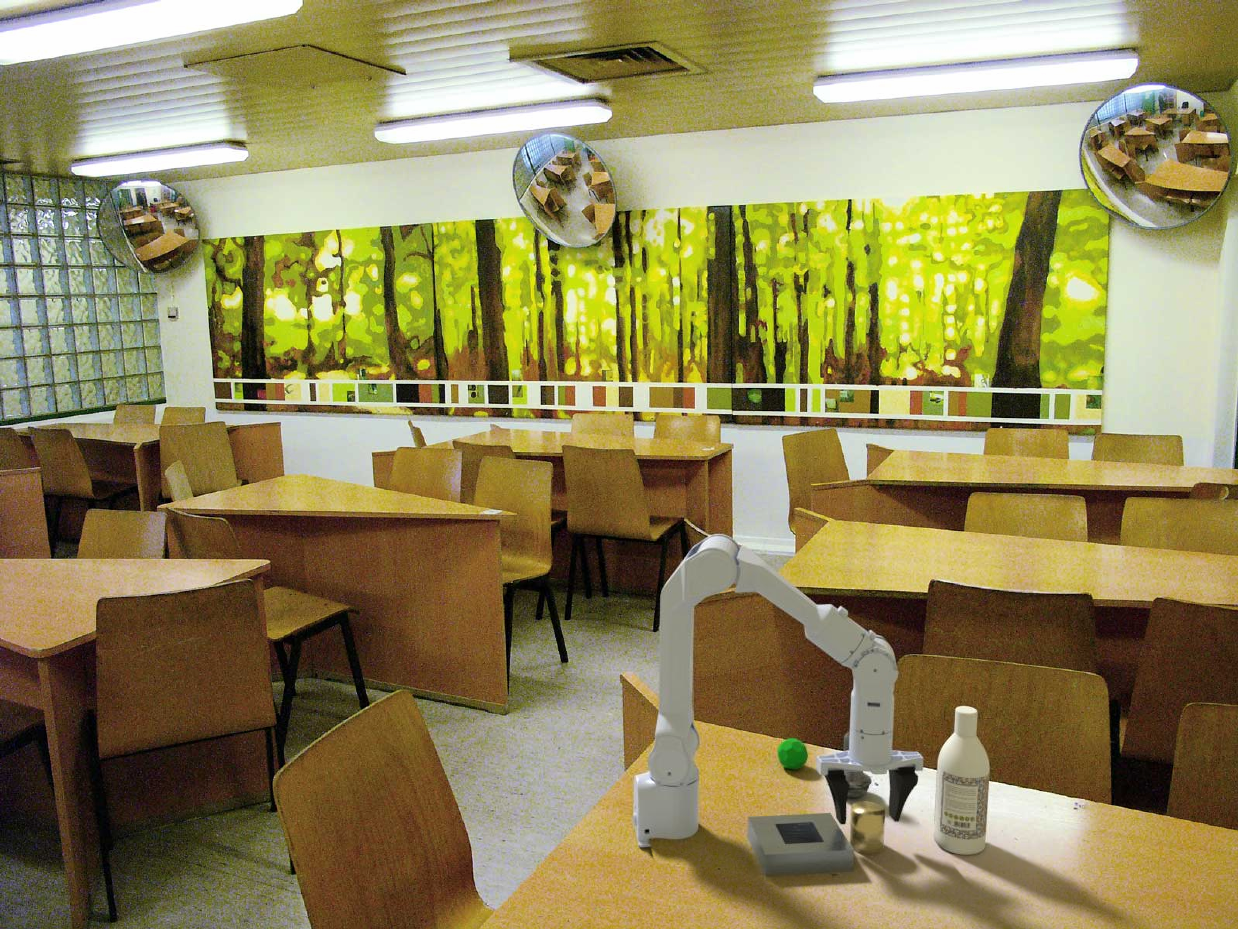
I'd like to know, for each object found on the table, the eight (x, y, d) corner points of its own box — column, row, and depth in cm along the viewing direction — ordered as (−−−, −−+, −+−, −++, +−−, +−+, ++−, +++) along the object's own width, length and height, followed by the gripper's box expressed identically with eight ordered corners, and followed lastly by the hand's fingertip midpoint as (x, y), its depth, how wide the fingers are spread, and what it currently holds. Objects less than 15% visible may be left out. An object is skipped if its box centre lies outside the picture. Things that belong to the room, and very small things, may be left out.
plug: (855, 862, 135) (857, 818, 134) (844, 845, 140) (846, 802, 139) (888, 861, 136) (890, 816, 135) (876, 843, 140) (878, 800, 139)
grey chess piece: (861, 813, 149) (864, 737, 147) (825, 801, 152) (827, 728, 151) (876, 798, 154) (879, 725, 152) (841, 787, 157) (844, 716, 155)
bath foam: (993, 856, 137) (1001, 719, 134) (943, 857, 137) (951, 720, 134) (973, 830, 144) (981, 699, 141) (926, 831, 144) (933, 700, 141)
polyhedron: (800, 777, 161) (800, 749, 160) (772, 769, 163) (772, 742, 163) (811, 765, 165) (812, 738, 164) (784, 758, 168) (785, 731, 167)
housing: (764, 883, 130) (765, 854, 130) (747, 843, 140) (747, 817, 140) (852, 878, 132) (853, 850, 131) (829, 839, 141) (830, 813, 141)
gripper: (829, 741, 131) (825, 837, 133) (934, 736, 132) (929, 831, 134) (813, 719, 137) (810, 811, 139) (913, 715, 139) (909, 806, 141)
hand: (867, 819), depth 137 cm, fingers open, 7 cm apart
